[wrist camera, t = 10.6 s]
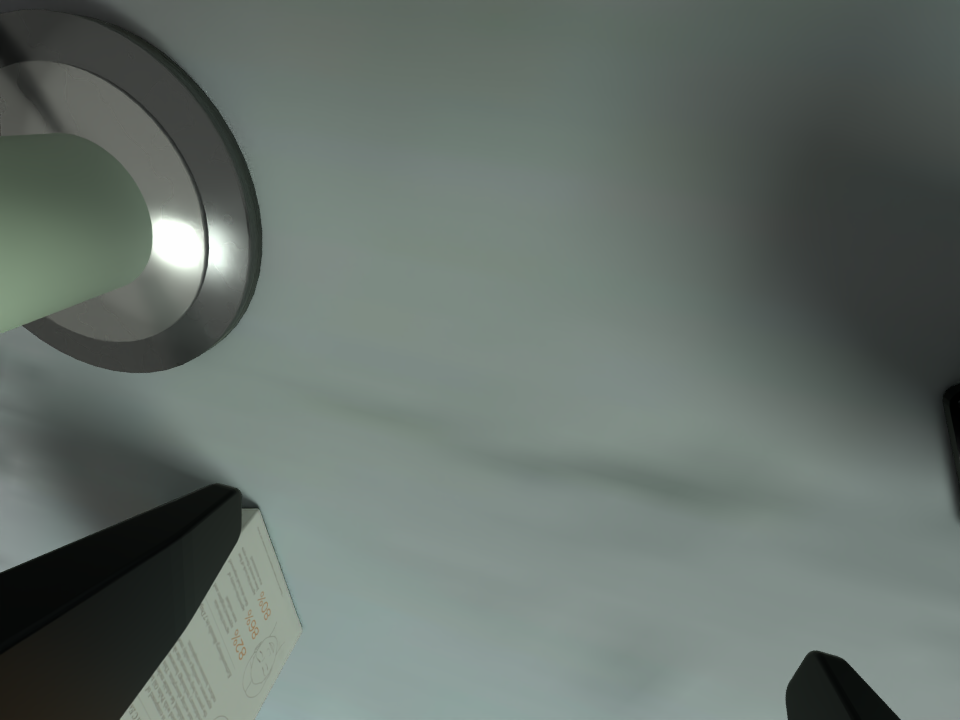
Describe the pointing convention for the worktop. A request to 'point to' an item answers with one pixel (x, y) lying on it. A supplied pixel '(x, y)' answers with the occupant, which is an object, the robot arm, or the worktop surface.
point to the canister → (65, 225)
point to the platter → (140, 186)
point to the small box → (228, 640)
